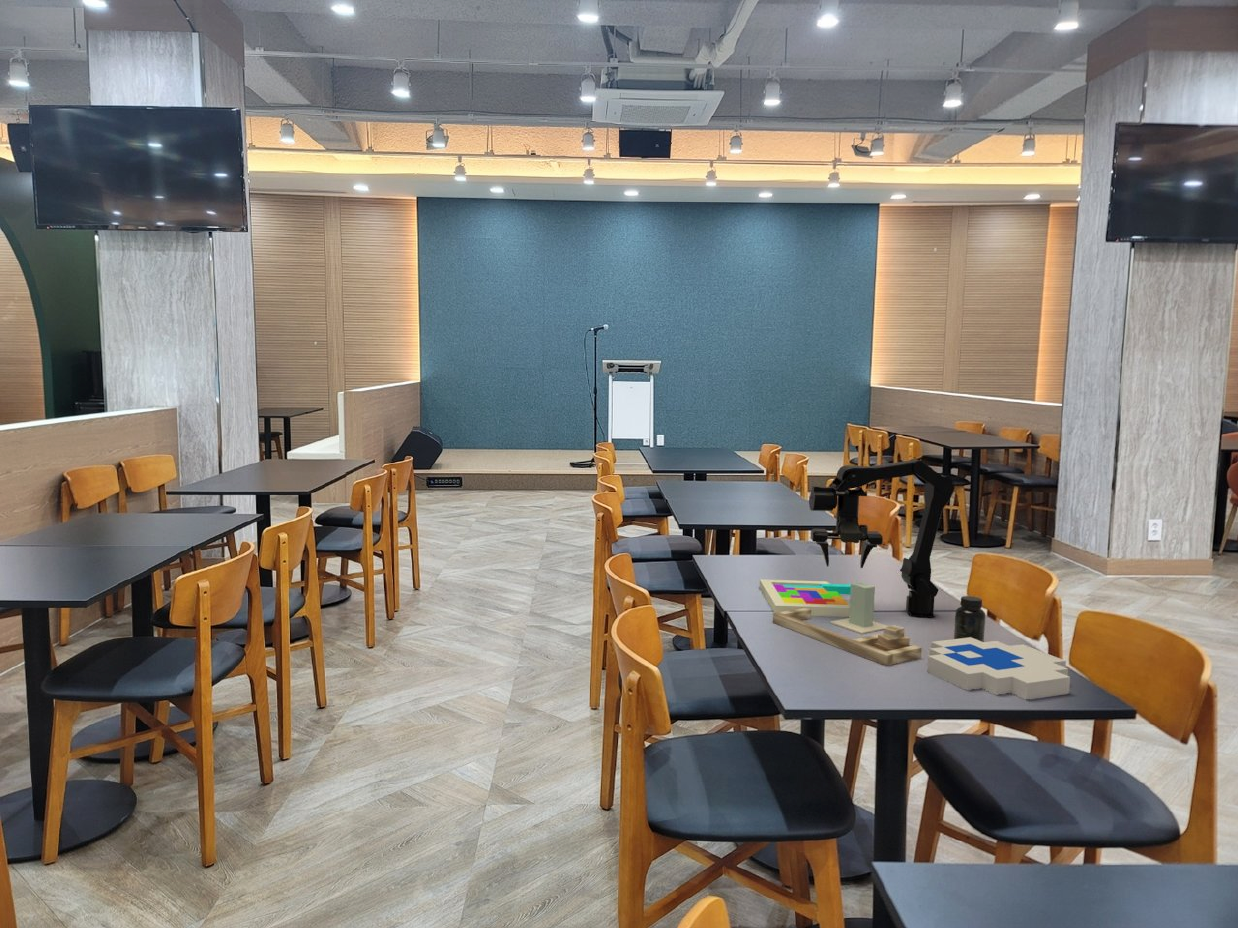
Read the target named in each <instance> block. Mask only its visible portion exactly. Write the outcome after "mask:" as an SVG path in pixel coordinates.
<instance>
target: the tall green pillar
mask: <svg viewBox="0 0 1238 928" xmlns="http://www.w3.org/2000/svg"><path fill="white" fill-rule="evenodd" d="M850 585H851V595H849V596H850V598H849V600H850V602H849V605H850V613H849V617H848V618H849V623H852V624H855V625H857V626H860V627H863V628H864V627H869V626H873V621H874V611H875V610H874V609H875V593H876V591H875V590H876V586H873V585H870V584H867V583H865V582H864V583H863V582H854V583H851V584H850Z"/></svg>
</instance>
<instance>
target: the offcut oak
mask: <svg viewBox="0 0 1238 928" xmlns="http://www.w3.org/2000/svg"><path fill="white" fill-rule="evenodd" d="M879 634H880V635H878V643H879V644H881V645H883V646H885V647H887V648H894V647H907V646H909V645H911V644H910V641H911V638H910V637H908V636H906V635H905V634H904V636H903V637H901V638H898V639H895V640H894V639H891V638H887V637H883V634H884V633H879Z"/></svg>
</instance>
